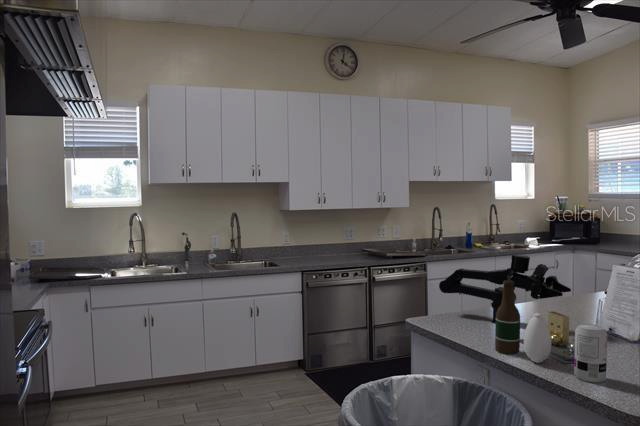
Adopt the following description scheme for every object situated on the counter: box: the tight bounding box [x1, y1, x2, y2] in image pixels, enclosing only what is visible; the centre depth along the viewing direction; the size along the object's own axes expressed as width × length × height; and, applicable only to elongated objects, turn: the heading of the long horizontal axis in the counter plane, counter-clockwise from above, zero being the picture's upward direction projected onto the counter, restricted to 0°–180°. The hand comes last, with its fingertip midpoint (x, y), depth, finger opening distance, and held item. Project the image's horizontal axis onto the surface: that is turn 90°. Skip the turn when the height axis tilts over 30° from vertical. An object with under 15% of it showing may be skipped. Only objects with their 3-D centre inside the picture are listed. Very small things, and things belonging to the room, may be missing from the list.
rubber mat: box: [520, 338, 574, 365], centre depth 173 cm, size 26×15×1 cm, turn 11°
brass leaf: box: [547, 311, 570, 346], centre depth 180 cm, size 8×6×10 cm
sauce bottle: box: [523, 305, 551, 364], centre depth 161 cm, size 8×8×18 cm
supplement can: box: [573, 323, 608, 384], centre depth 147 cm, size 8×8×15 cm
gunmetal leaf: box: [551, 341, 575, 361], centre depth 165 cm, size 7×9×4 cm
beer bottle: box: [494, 280, 521, 355], centre depth 171 cm, size 8×8×24 cm
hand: (566, 292), depth 193 cm, fingers open, 9 cm apart
